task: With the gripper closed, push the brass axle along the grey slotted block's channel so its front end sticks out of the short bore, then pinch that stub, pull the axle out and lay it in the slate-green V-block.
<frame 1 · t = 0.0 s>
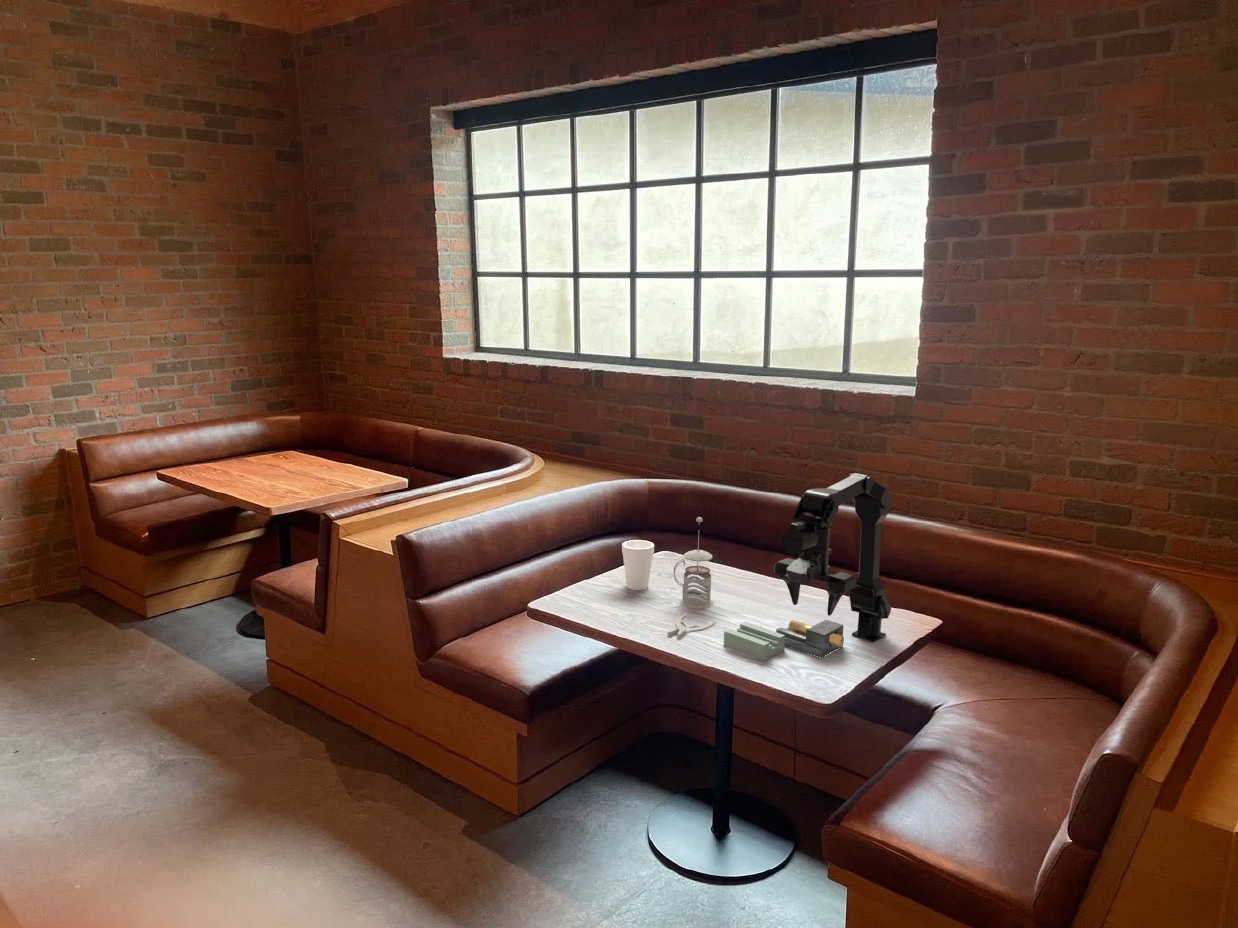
hand: (812, 609, 202), 15 cm above the table, tool pointing down, fingers open, 9 cm apart
french press: (693, 602, 248), on the table
foam cup: (637, 587, 260), on the table
v block: (753, 648, 217), on the table
axle: (815, 633, 217), point 3 cm above the table, touching grey slotted block
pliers: (686, 630, 229), on the table
grey slotted block: (808, 644, 219), on the table
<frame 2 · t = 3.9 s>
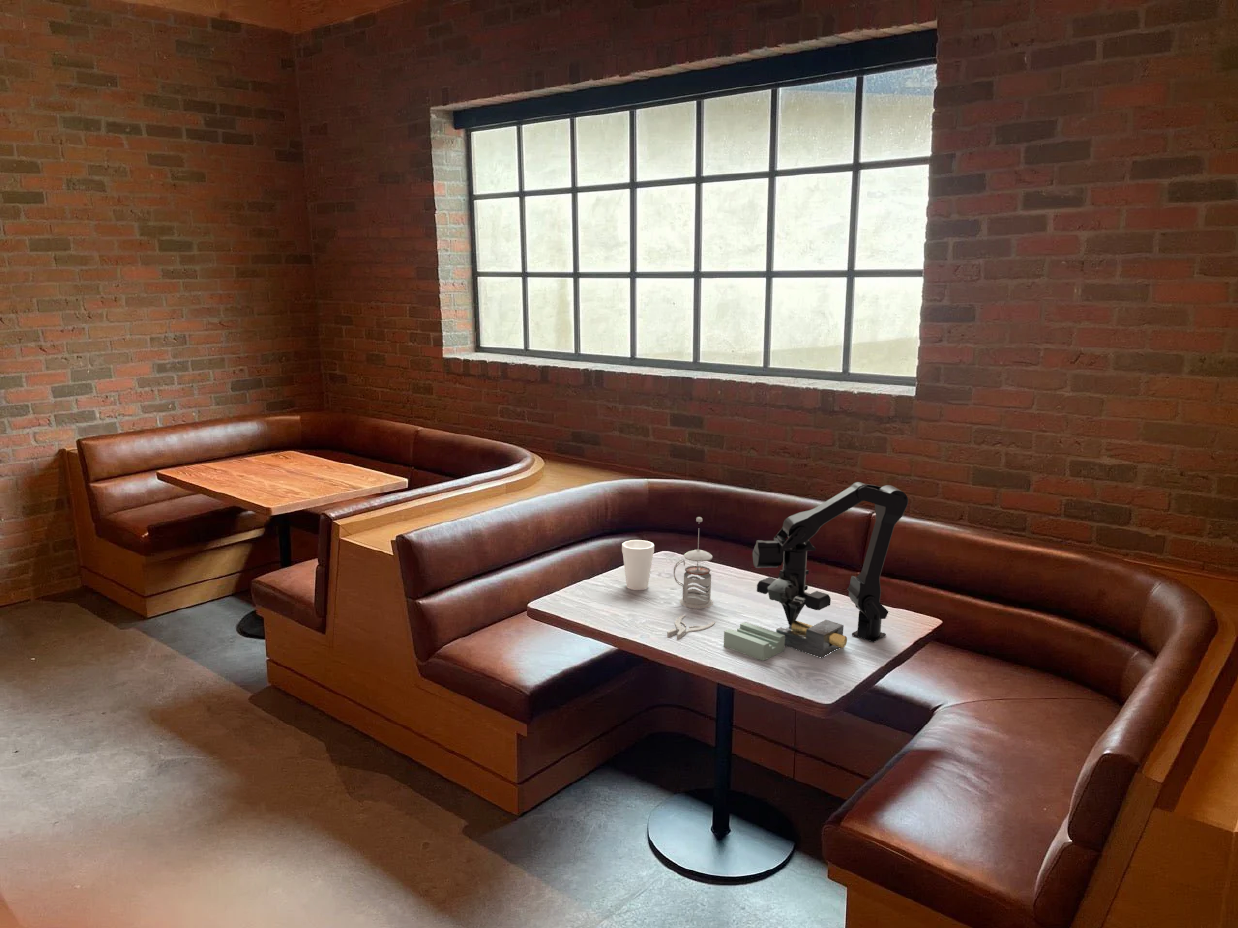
hand: (791, 624, 222), 4 cm above the table, tool pointing down, fingers closed
axle: (818, 633, 217), point 4 cm above the table, tilted 9°, touching gripper
everything else where it was.
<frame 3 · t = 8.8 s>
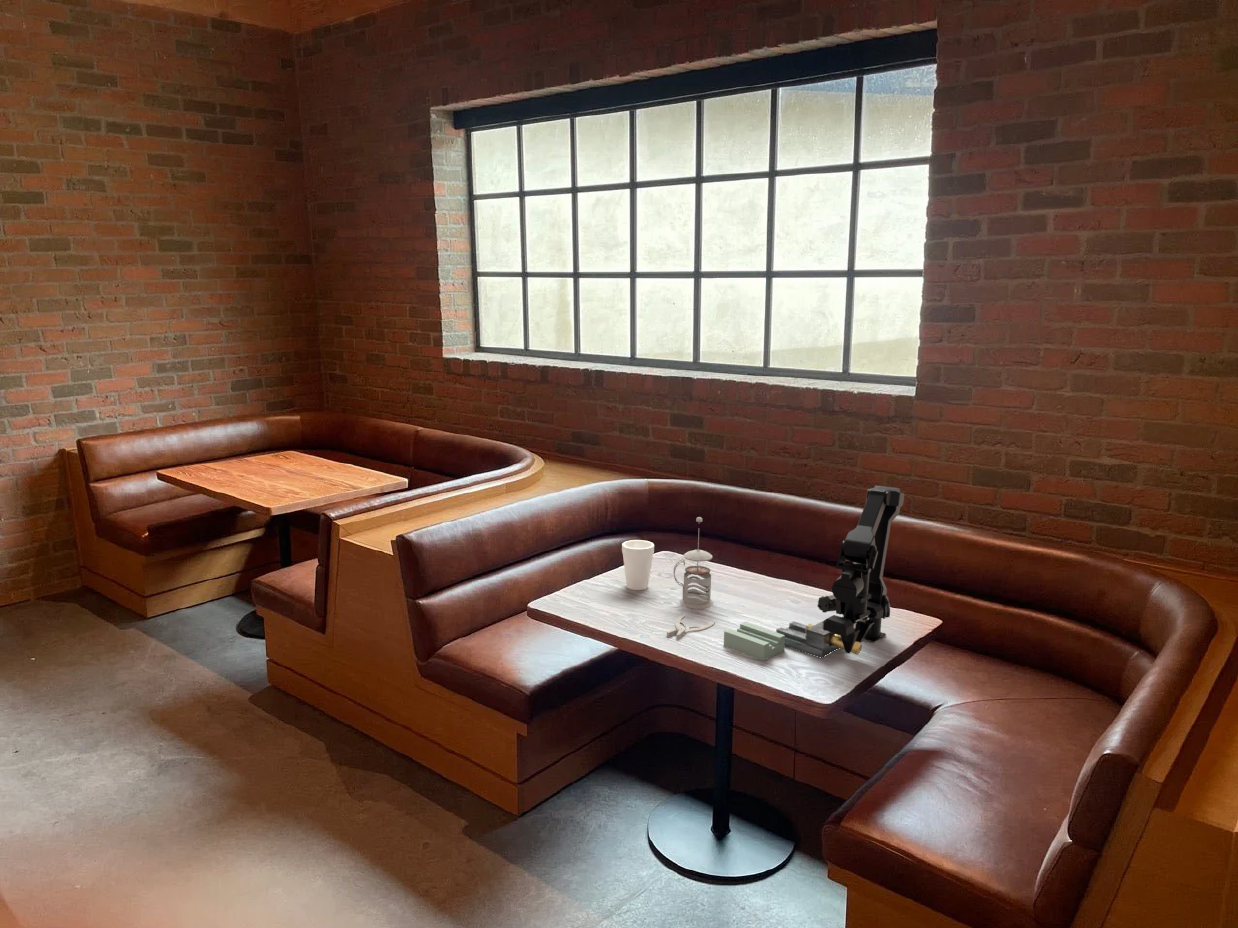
hand: (851, 650, 211), 2 cm above the table, tool pointing down, fingers closed on axle, 3 cm apart
axle: (833, 638, 214), point 4 cm above the table, touching grey slotted block, gripper
everything else where it was.
when the fingers open (4 cm above the table, at t = 15.7 s): axle drops 2 cm, resting on v block.
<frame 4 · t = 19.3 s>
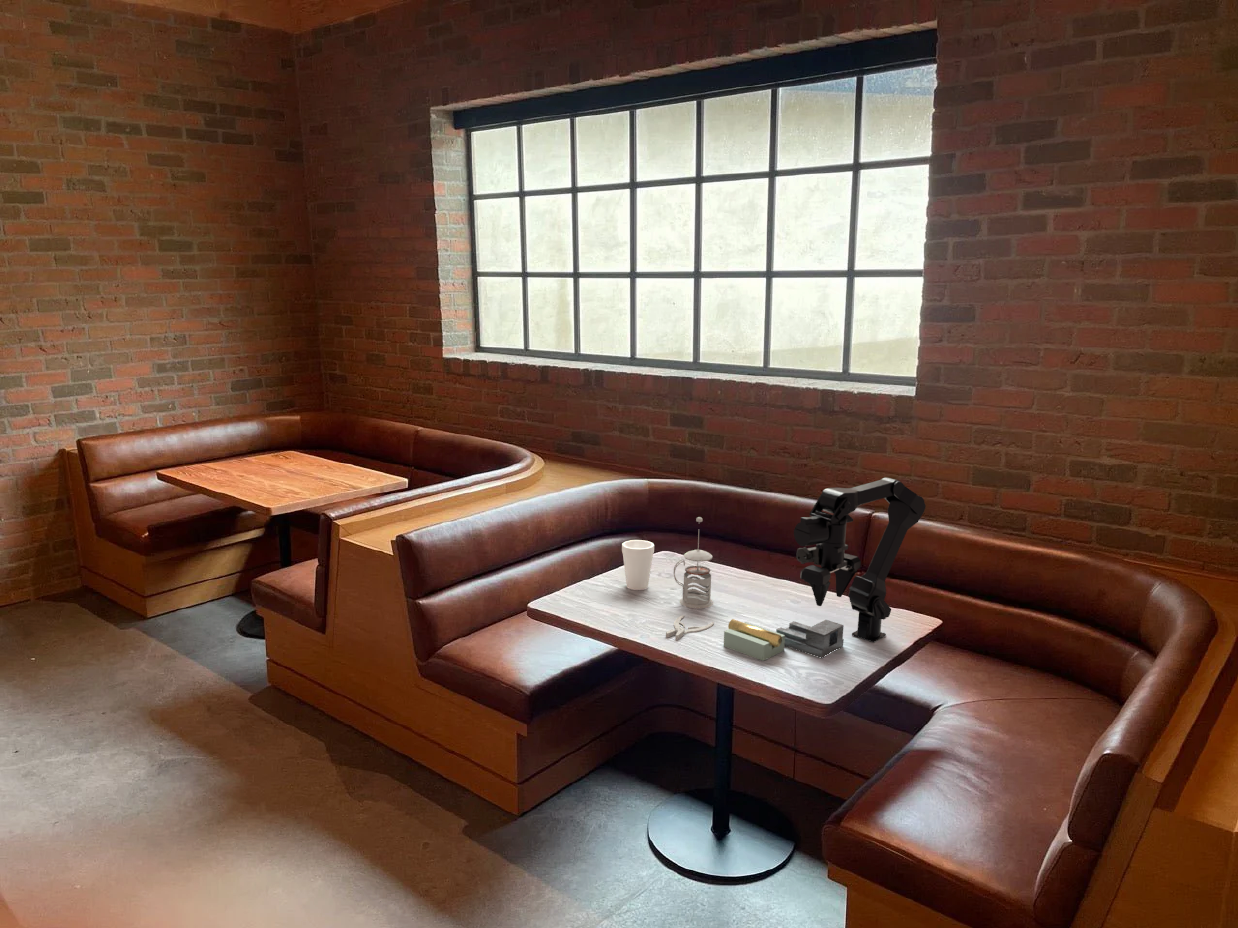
hand: (829, 601, 216), 12 cm above the table, tool pointing down, fingers open, 9 cm apart
axle: (754, 632, 216), point 4 cm above the table, tilted 6°, touching v block
everything else where it was.
at the end: axle 0.0 cm off-centre on the v block, point 4.1 cm above the v block's base; axle touching v block; the gripper is holding nothing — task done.
